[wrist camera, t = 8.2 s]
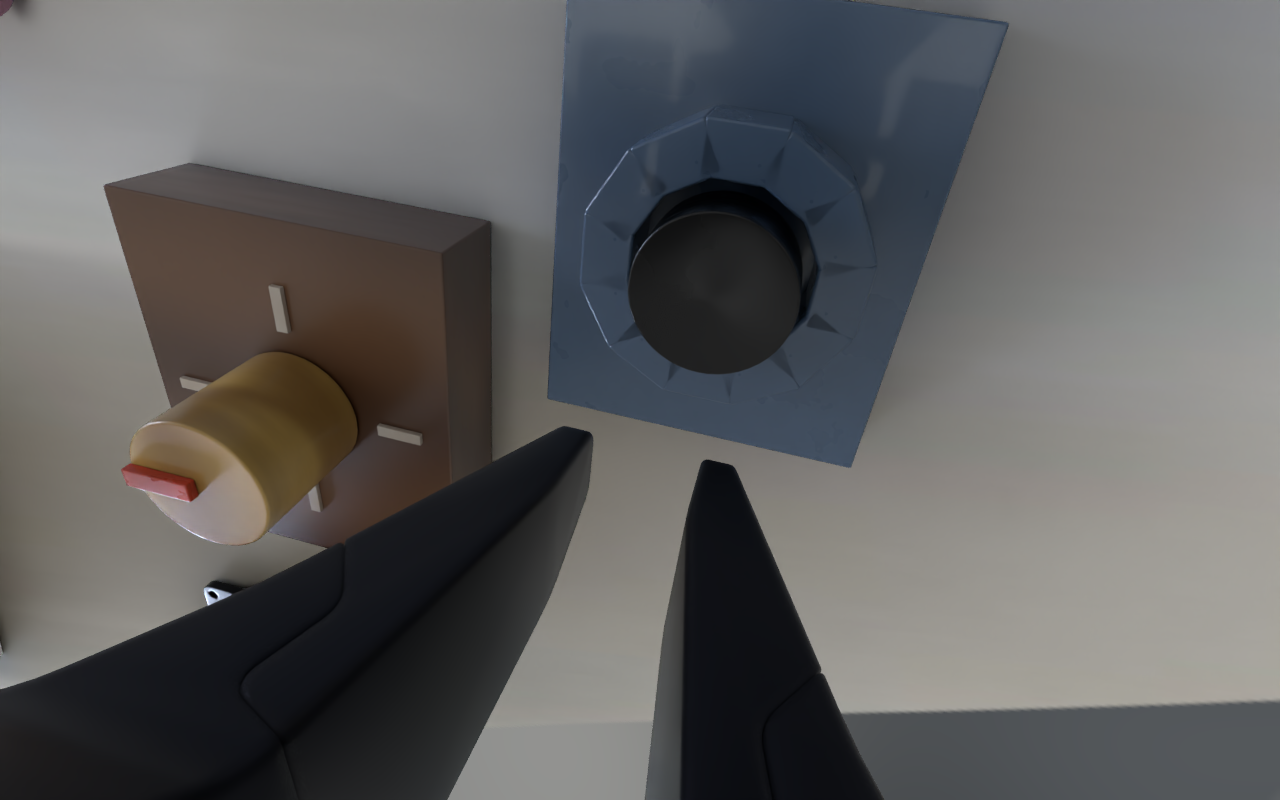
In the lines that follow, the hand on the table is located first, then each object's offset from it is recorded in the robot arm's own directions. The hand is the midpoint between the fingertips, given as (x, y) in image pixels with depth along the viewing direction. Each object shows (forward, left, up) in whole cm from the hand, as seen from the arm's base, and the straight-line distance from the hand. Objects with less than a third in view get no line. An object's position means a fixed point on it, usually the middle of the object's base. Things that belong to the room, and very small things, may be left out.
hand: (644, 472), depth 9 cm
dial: (-7, +12, -8) cm, 16 cm away
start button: (0, 0, -8) cm, 8 cm away
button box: (0, 0, -11) cm, 11 cm away
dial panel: (-7, +12, -11) cm, 18 cm away
